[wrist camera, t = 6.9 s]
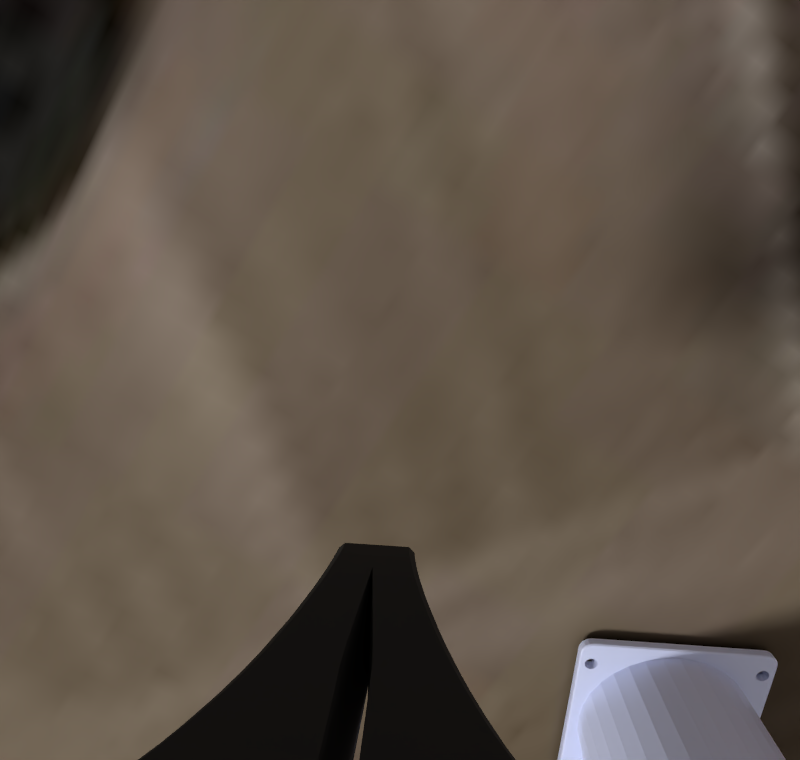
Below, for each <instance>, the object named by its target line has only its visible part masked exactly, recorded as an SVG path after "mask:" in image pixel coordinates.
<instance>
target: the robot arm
mask: <svg viewBox="0 0 800 760" xmlns="http://www.w3.org/2000/svg"><path fill="white" fill-rule="evenodd" d="M588 659H593V660H592V661H587V660H588ZM777 667H778V662H777V660H776V659H775V657H774V656H773V655H772V653H770V652H769V651H765V650H753V649H739V648H725V647H710V646H696V645H682V644H667V643H653V642H639V641H624V640H610V639H596V638H590V639H586V640H583V641H582V642H581V643H580V645H579V648H578V653H577V658H576V664H575V669H574V674H573V680H572V685H571V690H570V696H569V701H568V707H567V712H566V717H565V723H564V728H563V733H562V739H561V744H560V749H559V755H558V760H786V759H785V757H784V756H783V754H782V753H781V751H780V750H779V748H778V746H777V745H776V743H775V742H774V740H773V738H772V737H771V735H770V734H769V732H768V731H767V729H766V727H765V726H764V724H763V723H762V721H761V719H760V717H761V714H762V711H763V708H764V705H765V702H766V699H767V696H768V693H769V690H770V687H771V684H772V681H773V678H774V676H775V673H776V670H777ZM761 671H762V672H761ZM759 672H760V673H759ZM367 688H368V702H367V709H366V717H365V724H364V731H363V738H362V745H361V752H360V760H515V758H514V757H513V756H512V754H511V753H510V752H509V750H508V749H507V748H506V746H505V745H504V743H503V742H502V740H501V739H500V737H499V736H498V734H497V733H496V731H495V730H494V728H493V727H492V725H491V724H490V722H489V721H488V719H487V718H486V716H485V715H484V713H483V711H482V710H481V708H480V707H479V705H478V703H477V702H476V700H475V698H474V697H473V695H472V693H471V692H470V690H469V688H468V687H467V685H466V683H465V681H464V679H463V678H462V676H461V674H460V672H459V670H458V668H457V666H456V664H455V662H454V661H453V659H452V657H451V655H450V653H449V651H448V649H447V647H446V645H445V642H444V640H443V638H442V636H441V634H440V632H439V629H438V627H437V624H436V622H435V620H434V617H433V615H432V613H431V610H430V608H429V605H428V603H427V600H426V597H425V594H424V591H423V588H422V585H421V582H420V579H419V575H418V572H417V567H416V562H415V555H414V552H413V551H412V550H411V549H410V548H409V547H398V546H383V545H368V544H353V543H345V544H343V545H342V546H341V547H340V548H339V549H338V551H337V553H336V554H335V556H334V558H333V559H332V561H331V563H330V564H329V566H328V567H327V569H326V570H325V572H324V573H323V575H322V576H321V578H320V579H319V581H318V582H317V583H316V585H315V586H314V588H313V589H312V590H311V592H310V593H309V594H308V596H307V597H306V598H305V599H304V601H303V602H302V603H301V605H300V606H299V607H298V609H297V610H296V611H295V613H294V614H293V615H292V616H291V617H290V619H289V620H288V621H287V622H286V623H285V625H284V626H283V627H282V628H281V629H280V630H279V631H278V633H277V634H276V635H275V636H274V637H273V638H272V639H271V641H270V642H269V643H268V644H267V645H266V646H265V647H264V649H263V650H262V651H261V652H260V653H259V654H258V655H257V656H256V657H255V658H254V659H253V660H252V661H251V662H250V663H249V664H248V666H247V667H246V668H245V669H244V670H243V671H242V672H241V673H240V674H239V675H238V676H237V677H235V678H234V679H233V680H232V681H231V682H230V683H229V684H228V685H227V686H226V687H225V688H224V689H223V690H222V691H221V692H220V693H219V694H218V695H217V696H215V697H214V698H213V699H212V700H211V701H210V702H209V703H207V704H206V705H205V706H204V707H203V708H202V709H201V710H199V711H198V712H197V713H196V714H195V715H194V716H193V717H191V718H190V719H189V720H188V721H187V722H186V723H185V724H183V725H182V726H181V727H180V728H179V729H177V730H176V731H175V732H174V733H172V734H171V735H170V736H169V737H167V738H166V739H165V740H164V741H162V742H161V743H160V744H159V745H157V746H156V747H155V748H153V749H152V750H151V751H149V752H148V753H147V754H145V755H144V756H142V757H141V758H140V759H138V760H353V758H354V753H355V748H356V744H357V739H358V734H359V729H360V724H361V719H362V714H363V709H364V704H365V699H366V694H367Z"/></svg>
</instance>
